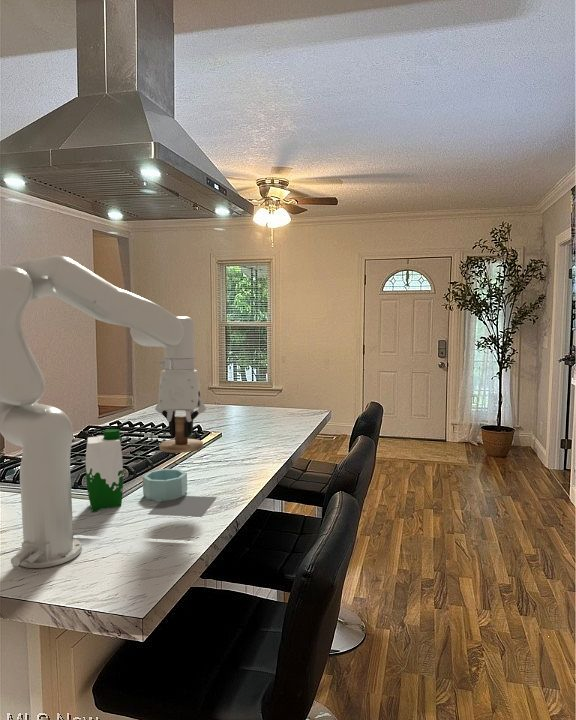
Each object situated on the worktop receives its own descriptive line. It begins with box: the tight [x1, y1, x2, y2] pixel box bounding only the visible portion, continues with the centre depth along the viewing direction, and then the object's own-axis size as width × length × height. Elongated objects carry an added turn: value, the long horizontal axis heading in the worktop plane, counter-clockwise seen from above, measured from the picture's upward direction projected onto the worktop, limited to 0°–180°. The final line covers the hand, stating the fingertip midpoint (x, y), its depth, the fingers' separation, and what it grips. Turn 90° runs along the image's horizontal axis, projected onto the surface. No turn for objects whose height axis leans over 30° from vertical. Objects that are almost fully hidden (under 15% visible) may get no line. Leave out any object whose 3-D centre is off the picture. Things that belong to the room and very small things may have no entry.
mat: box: [147, 495, 218, 518], centre depth 139 cm, size 14×14×1 cm
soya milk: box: [85, 428, 124, 513], centre depth 140 cm, size 9×9×20 cm
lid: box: [159, 415, 204, 454], centre depth 138 cm, size 11×11×8 cm
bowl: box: [142, 468, 188, 502], centre depth 148 cm, size 11×11×6 cm
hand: (181, 435), depth 138 cm, fingers closed on lid, 3 cm apart
